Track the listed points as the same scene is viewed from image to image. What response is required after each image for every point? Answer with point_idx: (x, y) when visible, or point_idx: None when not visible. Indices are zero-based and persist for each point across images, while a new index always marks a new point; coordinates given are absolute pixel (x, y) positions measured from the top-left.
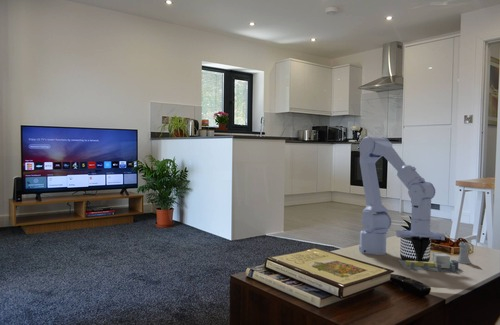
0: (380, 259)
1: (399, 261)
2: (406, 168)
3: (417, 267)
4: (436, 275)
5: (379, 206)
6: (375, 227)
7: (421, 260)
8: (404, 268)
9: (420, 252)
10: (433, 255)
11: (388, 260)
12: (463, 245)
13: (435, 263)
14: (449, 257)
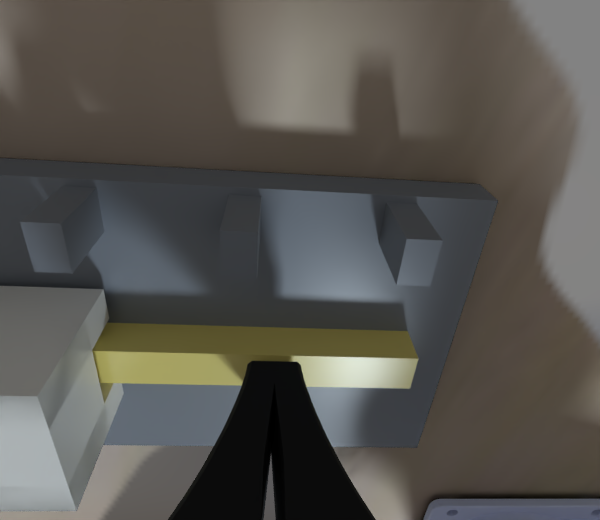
0: (502, 476)
1: (423, 415)
2: None
3: (317, 275)
4: (139, 147)
5: None
6: None
7: (258, 364)
8: (492, 213)
9: (265, 464)
10: (81, 465)
11: (449, 467)
12: None
13: (95, 341)
14: None
